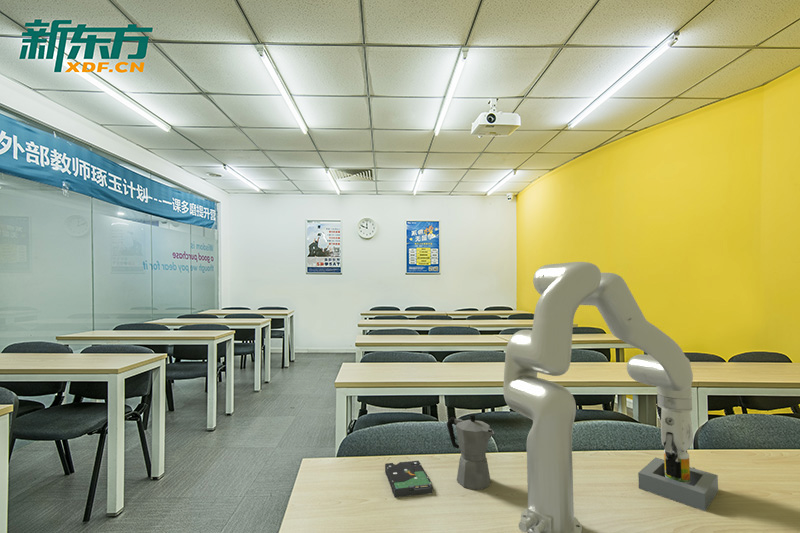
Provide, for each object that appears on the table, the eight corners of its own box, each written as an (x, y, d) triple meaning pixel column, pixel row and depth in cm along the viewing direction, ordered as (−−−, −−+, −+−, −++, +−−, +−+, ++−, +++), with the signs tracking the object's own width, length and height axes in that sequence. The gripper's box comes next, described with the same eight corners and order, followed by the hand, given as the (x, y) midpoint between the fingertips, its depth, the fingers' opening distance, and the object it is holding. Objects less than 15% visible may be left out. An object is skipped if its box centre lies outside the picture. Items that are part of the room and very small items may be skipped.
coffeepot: (504, 483, 104) (502, 415, 105) (485, 497, 98) (483, 424, 99) (457, 465, 115) (456, 404, 116) (437, 476, 108) (437, 411, 109)
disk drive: (384, 473, 112) (394, 500, 97) (384, 463, 112) (394, 488, 97) (418, 469, 114) (433, 495, 99) (418, 459, 114) (433, 483, 100)
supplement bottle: (669, 483, 99) (667, 444, 100) (661, 473, 104) (660, 436, 105) (694, 486, 98) (692, 447, 98) (685, 476, 103) (683, 439, 103)
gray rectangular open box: (705, 511, 91) (704, 492, 91) (638, 488, 102) (638, 471, 102) (725, 479, 106) (724, 463, 106) (665, 462, 117) (665, 447, 117)
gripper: (682, 412, 94) (685, 489, 93) (700, 399, 105) (703, 467, 104) (647, 405, 99) (649, 477, 98) (667, 393, 111) (670, 458, 110)
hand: (677, 471), depth 101 cm, fingers closed on supplement bottle, 5 cm apart
